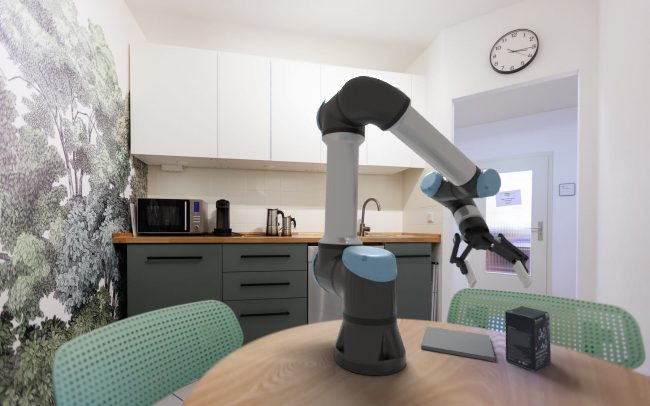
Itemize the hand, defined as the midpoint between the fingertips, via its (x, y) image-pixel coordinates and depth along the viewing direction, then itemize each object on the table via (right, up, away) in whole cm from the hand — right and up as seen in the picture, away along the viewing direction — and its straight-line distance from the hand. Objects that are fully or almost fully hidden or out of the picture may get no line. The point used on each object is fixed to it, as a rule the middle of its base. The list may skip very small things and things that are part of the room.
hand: (501, 285), depth 74 cm
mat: (-12, -14, -2) cm, 18 cm away
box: (-1, -14, -11) cm, 17 cm away
